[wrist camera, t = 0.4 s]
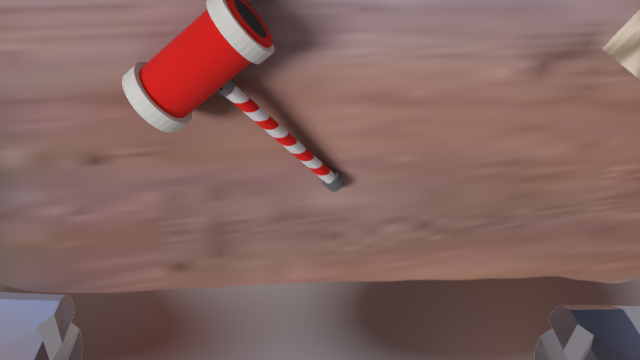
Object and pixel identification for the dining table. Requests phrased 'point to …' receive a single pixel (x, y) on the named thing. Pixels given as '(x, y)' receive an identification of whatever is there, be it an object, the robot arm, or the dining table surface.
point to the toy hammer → (212, 76)
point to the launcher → (627, 45)
